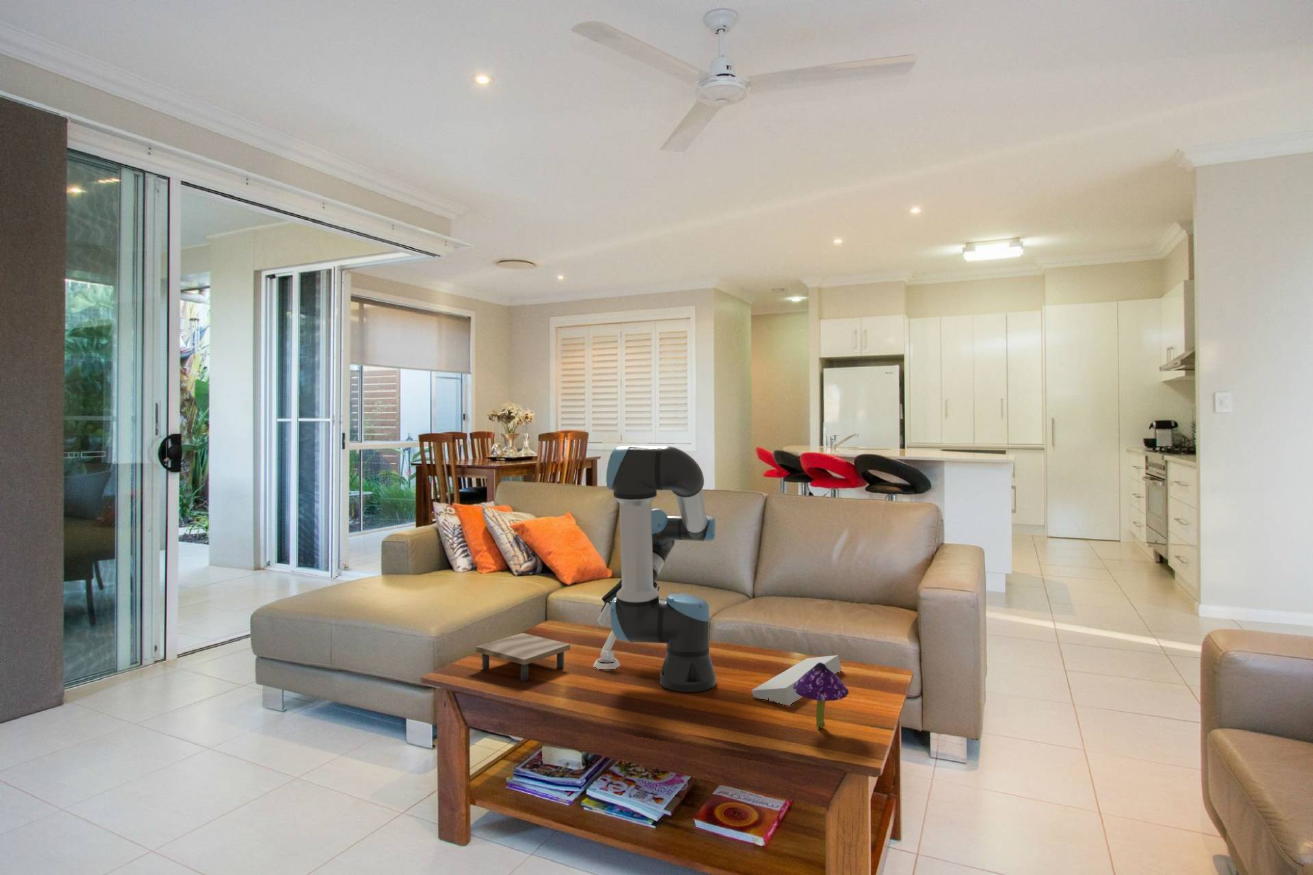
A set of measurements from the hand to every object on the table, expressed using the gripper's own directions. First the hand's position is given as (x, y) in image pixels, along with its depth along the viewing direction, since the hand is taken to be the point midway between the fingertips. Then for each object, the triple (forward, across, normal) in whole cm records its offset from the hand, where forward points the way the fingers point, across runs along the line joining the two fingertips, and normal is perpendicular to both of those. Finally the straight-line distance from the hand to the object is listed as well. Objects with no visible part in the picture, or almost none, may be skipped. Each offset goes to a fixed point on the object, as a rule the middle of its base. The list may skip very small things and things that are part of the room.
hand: (617, 627), depth 208 cm
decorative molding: (-3, -52, -18) cm, 55 cm away
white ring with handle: (+11, -1, -3) cm, 12 cm away
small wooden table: (+22, +17, +8) cm, 29 cm away
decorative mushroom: (+14, -69, 0) cm, 70 cm away
